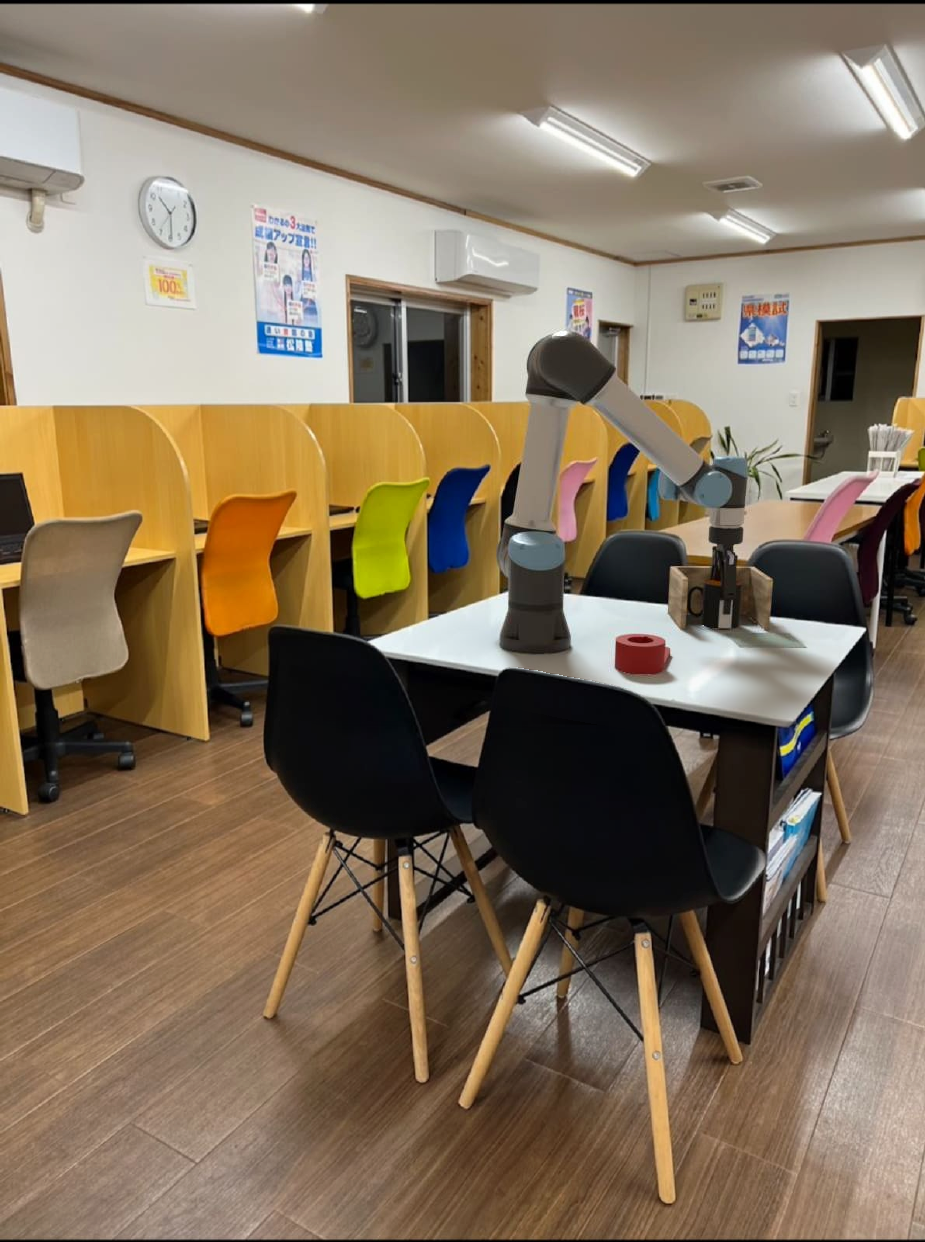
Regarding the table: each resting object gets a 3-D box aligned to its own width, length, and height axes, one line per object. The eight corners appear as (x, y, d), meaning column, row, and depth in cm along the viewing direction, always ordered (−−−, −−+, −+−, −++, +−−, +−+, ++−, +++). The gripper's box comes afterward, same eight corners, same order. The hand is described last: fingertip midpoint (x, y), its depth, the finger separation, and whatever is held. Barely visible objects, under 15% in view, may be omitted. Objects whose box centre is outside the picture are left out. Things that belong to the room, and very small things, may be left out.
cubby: (679, 630, 203) (682, 579, 200) (667, 614, 219) (670, 566, 216) (768, 631, 202) (773, 579, 199) (750, 614, 218) (753, 566, 215)
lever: (652, 683, 166) (654, 649, 165) (606, 675, 171) (607, 641, 170) (686, 660, 181) (688, 628, 179) (642, 653, 186) (644, 622, 184)
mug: (690, 618, 214) (693, 576, 212) (741, 624, 209) (744, 581, 206) (681, 626, 207) (683, 582, 205) (733, 632, 202) (737, 587, 199)
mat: (739, 649, 188) (739, 646, 188) (725, 635, 199) (725, 632, 199) (806, 650, 187) (807, 647, 187) (789, 635, 199) (789, 632, 199)
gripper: (755, 532, 191) (748, 634, 196) (731, 519, 211) (725, 612, 217) (720, 532, 191) (713, 634, 197) (699, 519, 212) (694, 612, 217)
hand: (719, 622), depth 207 cm, fingers closed on mug, 8 cm apart
